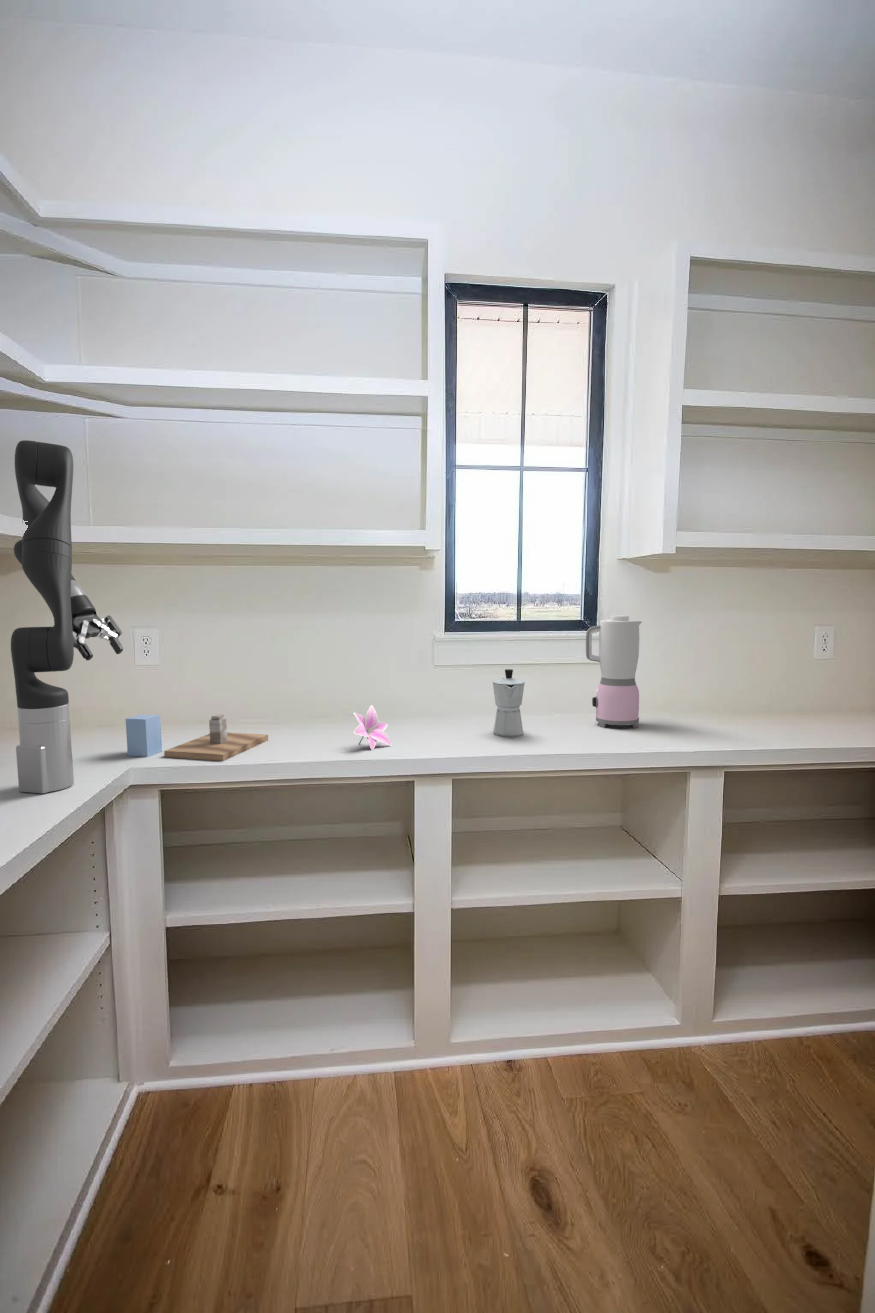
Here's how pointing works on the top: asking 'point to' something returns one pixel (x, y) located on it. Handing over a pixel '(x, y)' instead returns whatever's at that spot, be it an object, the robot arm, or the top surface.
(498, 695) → the coffee maker
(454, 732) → the top surface
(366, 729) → the lily
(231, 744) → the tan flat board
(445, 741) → the top surface
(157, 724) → the light blue block
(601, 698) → the blender
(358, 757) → the top surface
